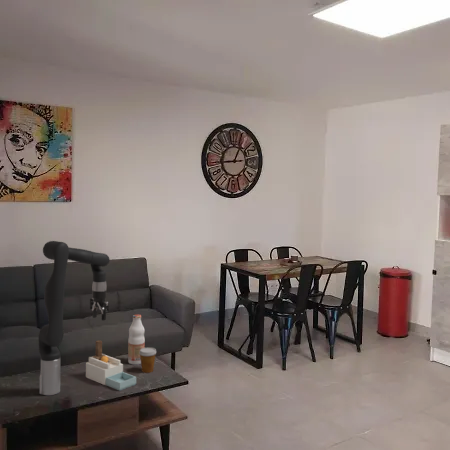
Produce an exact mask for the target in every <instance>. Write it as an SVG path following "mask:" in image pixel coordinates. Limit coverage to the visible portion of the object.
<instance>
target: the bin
mask: <svg viewBox="0 0 450 450" xmlns="http://www.w3.org/2000/svg"><path fill="white" fill-rule="evenodd" d="M136 385H137V376H135V375H132V374H130V373H127V372H124V371H123V372H120V373H117V374H115V375H112V376H109V377H106V385H105V386H107V387H110V388H112V389H114V390H117V391H123V390H125V389H128V388H131V387H134V386H136Z"/></svg>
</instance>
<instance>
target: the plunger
mask: <svg viewBox="0 0 450 450" xmlns="http://www.w3.org/2000/svg"><path fill="white" fill-rule="evenodd" d="M103 354H104V353H103V341H102V340H101V339H100V340H99V339H98V340H96V341H95V355H93V358H95V359H98V360H100V361H101V358H102V357H103V356H106V354H104V355H103Z"/></svg>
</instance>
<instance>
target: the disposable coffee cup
mask: <svg viewBox="0 0 450 450" xmlns="http://www.w3.org/2000/svg"><path fill="white" fill-rule="evenodd" d="M139 353H140V358H141V364H140V366H141V372H143V373H146V374H149V373H153V372H154V369H155V362H156V361H155V360H156V355H157V349H156V348H155V347H145V348H142V349H141V350H140V352H139Z"/></svg>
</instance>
